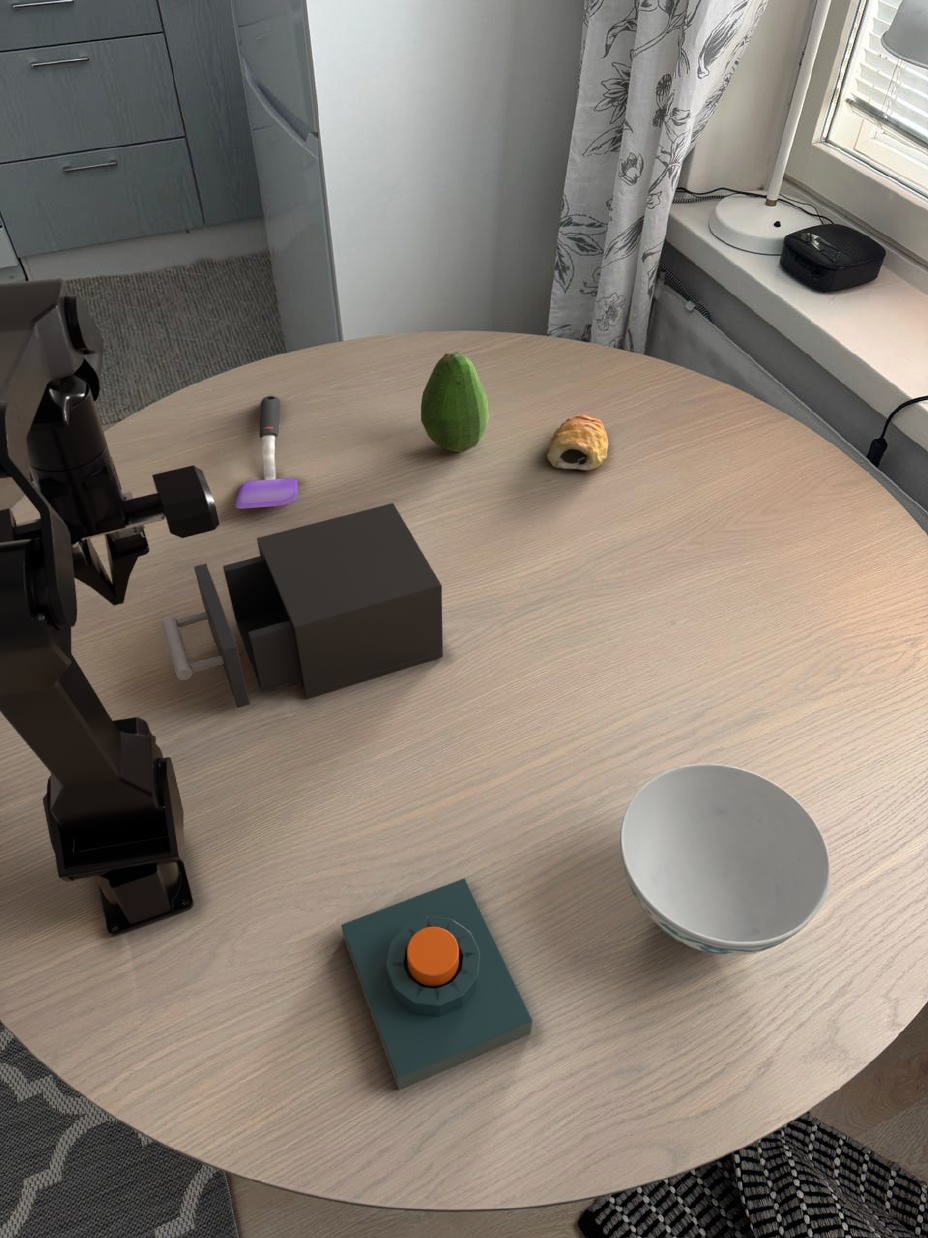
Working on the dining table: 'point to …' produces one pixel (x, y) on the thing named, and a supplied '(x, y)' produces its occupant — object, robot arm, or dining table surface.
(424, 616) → the box
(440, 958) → the button
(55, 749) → the robot arm
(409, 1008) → the block
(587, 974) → the dining table surface
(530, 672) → the dining table surface
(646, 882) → the chinaware
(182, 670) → the drawer
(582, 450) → the pastry
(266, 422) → the spatula
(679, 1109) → the dining table surface
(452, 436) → the avocado
